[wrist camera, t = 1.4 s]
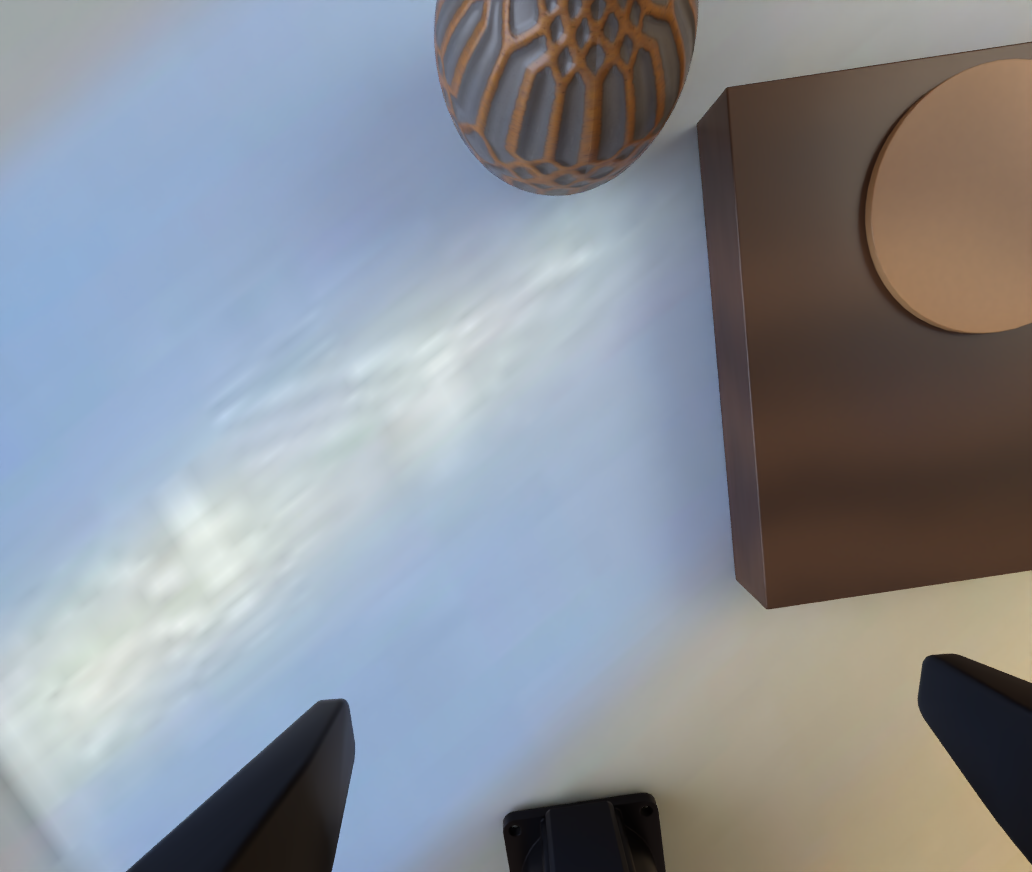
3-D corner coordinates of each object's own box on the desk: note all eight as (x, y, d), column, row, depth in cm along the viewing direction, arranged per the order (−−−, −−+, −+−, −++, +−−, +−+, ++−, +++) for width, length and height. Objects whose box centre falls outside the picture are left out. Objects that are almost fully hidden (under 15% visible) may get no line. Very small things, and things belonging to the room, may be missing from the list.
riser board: (1045, 533, 21) (1130, 561, 18) (735, 579, 21) (771, 614, 18) (1051, 70, 18) (1151, 18, 15) (696, 123, 18) (730, 81, 15)
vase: (628, -20, 17) (754, -399, 9) (665, 194, 18) (810, 48, 10) (428, 28, 17) (351, -301, 9) (475, 238, 18) (450, 133, 10)
